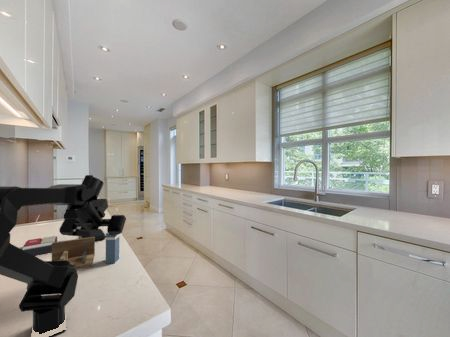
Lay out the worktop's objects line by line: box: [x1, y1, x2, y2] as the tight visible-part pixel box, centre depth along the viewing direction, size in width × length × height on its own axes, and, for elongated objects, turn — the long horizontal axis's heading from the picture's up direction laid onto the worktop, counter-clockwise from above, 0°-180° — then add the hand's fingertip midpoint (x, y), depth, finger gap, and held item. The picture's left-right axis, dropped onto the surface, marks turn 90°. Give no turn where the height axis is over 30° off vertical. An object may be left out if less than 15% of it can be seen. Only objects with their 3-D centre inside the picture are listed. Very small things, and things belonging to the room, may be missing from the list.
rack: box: [51, 237, 96, 270], centre depth 77 cm, size 11×14×8 cm
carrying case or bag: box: [81, 228, 106, 243], centre depth 104 cm, size 11×3×15 cm
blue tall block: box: [105, 232, 120, 264], centre depth 80 cm, size 4×4×12 cm
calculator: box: [21, 235, 58, 257], centre depth 90 cm, size 11×4×15 cm
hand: (103, 235), depth 72 cm, fingers open, 9 cm apart
